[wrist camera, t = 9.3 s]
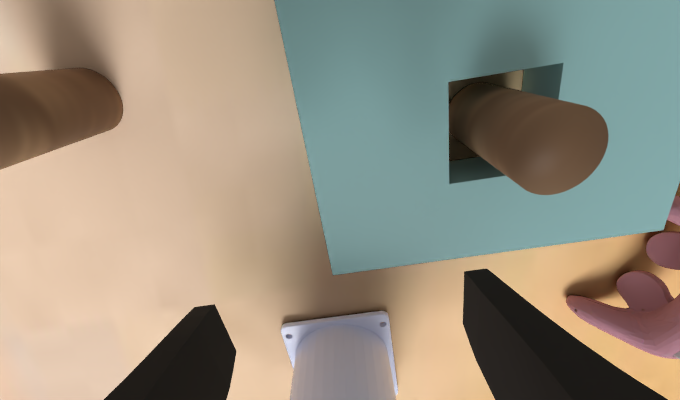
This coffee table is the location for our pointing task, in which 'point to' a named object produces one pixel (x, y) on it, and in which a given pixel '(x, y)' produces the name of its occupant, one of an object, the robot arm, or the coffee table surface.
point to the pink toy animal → (643, 301)
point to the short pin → (530, 136)
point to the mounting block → (433, 121)
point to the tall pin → (53, 111)
